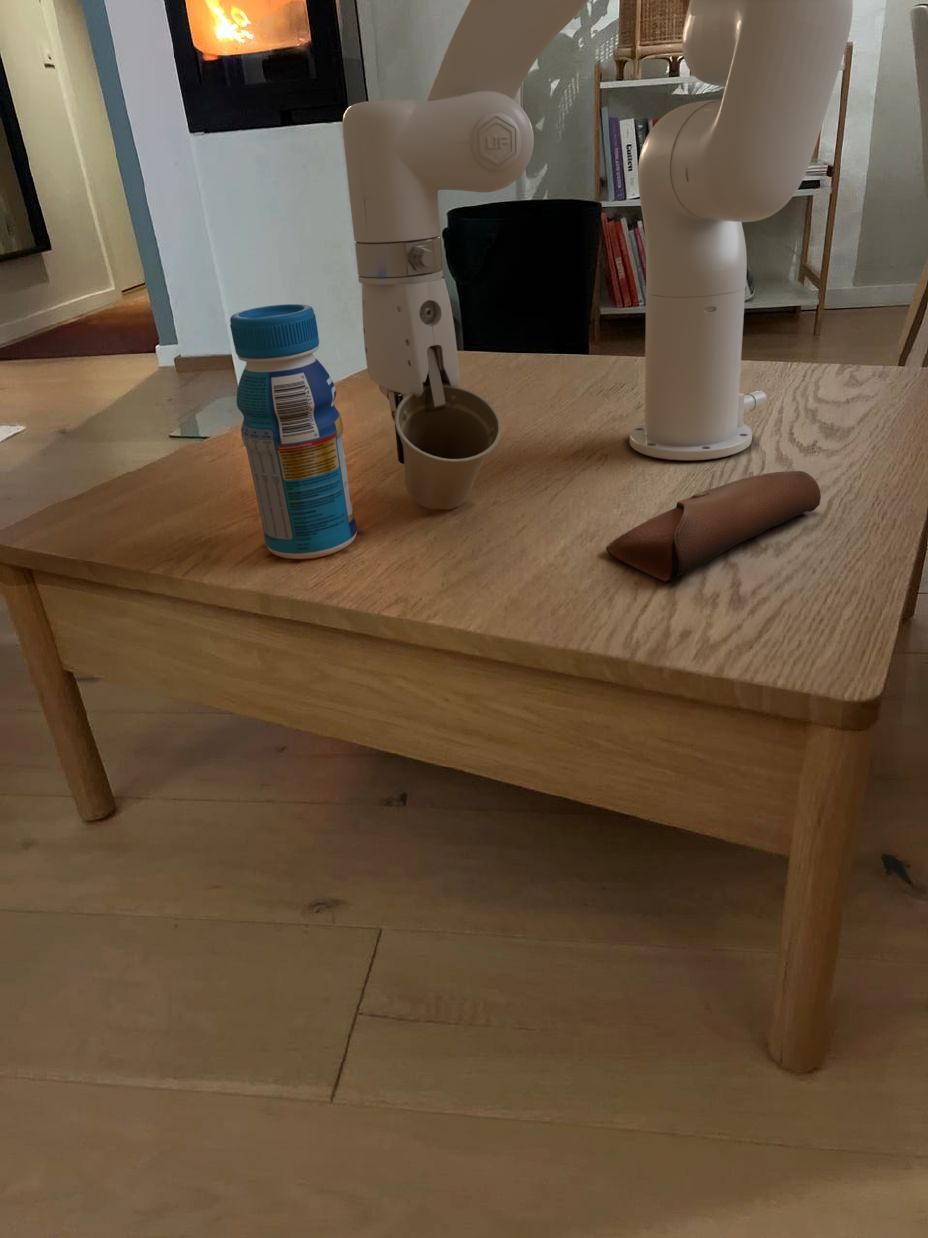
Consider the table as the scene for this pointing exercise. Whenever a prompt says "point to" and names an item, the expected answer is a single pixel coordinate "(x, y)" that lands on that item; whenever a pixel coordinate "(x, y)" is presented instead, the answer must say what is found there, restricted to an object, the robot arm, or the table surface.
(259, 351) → the beverage bottle
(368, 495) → the table surface
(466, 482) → the flower pot
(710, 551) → the sunglasses case
